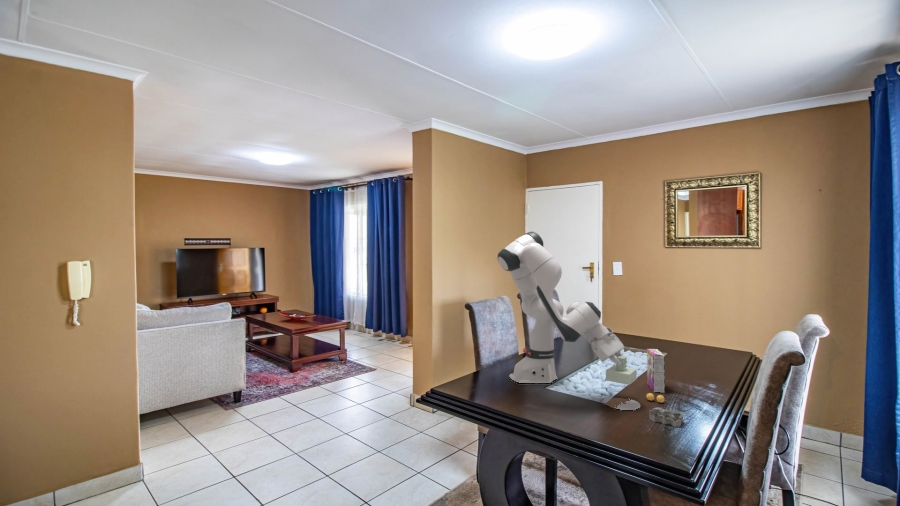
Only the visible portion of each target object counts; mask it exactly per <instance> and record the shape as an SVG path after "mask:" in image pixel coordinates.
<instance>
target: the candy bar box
mask: <svg viewBox="0 0 900 506" xmlns="http://www.w3.org/2000/svg"><path fill="white" fill-rule="evenodd" d="M665 361H666V360H665V354H664V353H663V352H661V350H659V349H657V348H646V367H647V368H646V369H647V370H646V371H647V372H646V374H647V378H646V379H647V380H646V381H647V382H646V384H647V386H648V385H649V386H648V387H649V388H650V390H651V389H652V390H651V391H652V392H653V393H655V392H660V393H659V394H666V380H665V379H666V378H665V377H666V370H665V369H666V365H665Z"/></svg>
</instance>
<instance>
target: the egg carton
mask: <svg viewBox="0 0 900 506" xmlns="http://www.w3.org/2000/svg"><path fill="white" fill-rule="evenodd" d="M648 417H649V418H648V420H649V419H650V421H651V422H653V423H661V424H662V425H671V426H672V427H673V428H674V427H682V424H683V423H684V411H682V412H680V411H673V410H671V409H664V408H661V407H658V406H657V407H654V408H652V409H651V410H650V409H648Z"/></svg>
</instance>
